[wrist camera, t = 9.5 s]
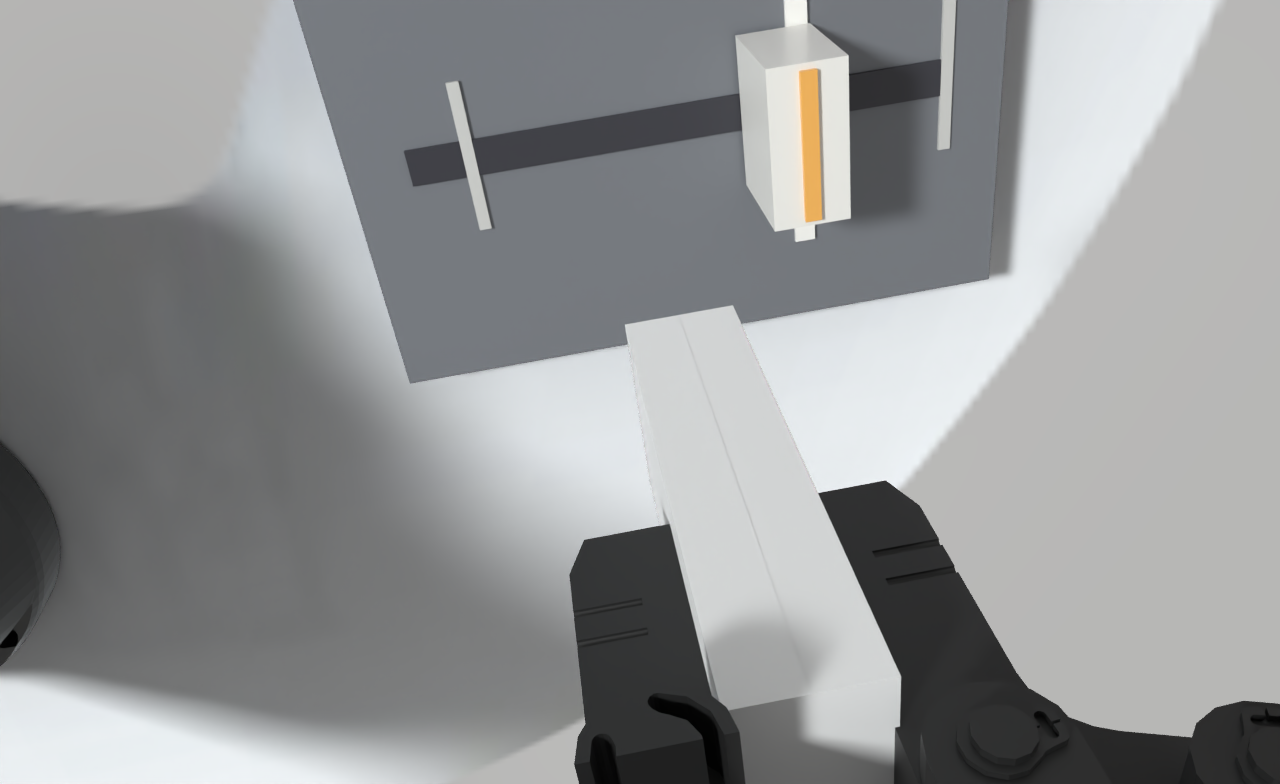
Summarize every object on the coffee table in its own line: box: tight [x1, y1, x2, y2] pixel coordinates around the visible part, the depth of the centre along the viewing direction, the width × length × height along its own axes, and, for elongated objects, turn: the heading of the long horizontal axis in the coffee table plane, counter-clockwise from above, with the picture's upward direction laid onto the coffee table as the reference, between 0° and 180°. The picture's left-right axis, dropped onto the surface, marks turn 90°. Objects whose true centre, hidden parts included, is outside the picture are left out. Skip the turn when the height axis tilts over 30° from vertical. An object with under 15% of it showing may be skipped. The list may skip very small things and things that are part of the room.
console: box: [293, 0, 1008, 383], centre depth 34 cm, size 22×16×2 cm
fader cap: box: [735, 23, 851, 232], centre depth 31 cm, size 2×5×4 cm, turn 8°
